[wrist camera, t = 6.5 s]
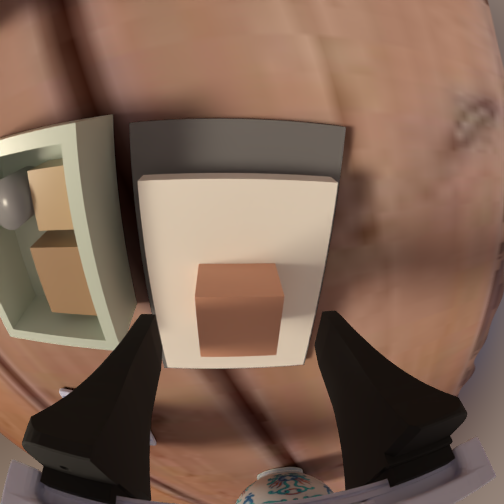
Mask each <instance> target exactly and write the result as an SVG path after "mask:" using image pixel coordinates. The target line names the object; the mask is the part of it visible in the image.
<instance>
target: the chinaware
mask: <svg viewBox="0 0 504 504" xmlns="http://www.w3.org/2000/svg"><path fill="white" fill-rule="evenodd" d="M332 493H334V492H333V491H332V490H331V489H330V488H329V487H328V486H327V485H326V484H325V483H323V482H322V481H320V480H319V479H317V478H315V477H313V476H310V475H307V474H303V470H302V469H301V468H298V467H282V468H276V469H271V470H267V471H264V472H262V473H260V474H258V476H257V481H255V482H254V483H252V484H251V485H250V486H249V487H247V488H246V489H245V490H244V491H243V493H242V494H241V495H240V497H239V498H238V500H237V502H236V504H263V503H274V502H283V501H291V500H298V499H305V498H311V497H316V496H322V495H327V494H332Z"/></svg>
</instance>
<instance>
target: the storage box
mask: <svg viewBox="0 0 504 504" xmlns="http://www.w3.org/2000/svg"><path fill="white" fill-rule="evenodd" d="M136 305H137V301H136V297H135V292H134V287H133V283H132V278H131V272H130V267H129V262H128V256H127V250H126V244H125V238H124V232H123V225H122V218H121V210H120V202H119V194H118V185H117V174H116V162H115V149H114V130H113V114H112V115H105V116H98V117H91V118H85V119H79V120H74V121H68V122H63V123H58V124H53V125H49V126H44V127H40V128H35V129H31V130H27V131H23V132H20V133H16V134H12V135H9V136H5V137H2V138H0V317H1V319H2V321H3V323H4V325H5V327H6V329H7V331H8V333H9V335H10V336H11V337H16V338H21V339H27V340H33V341H39V342H45V343H52V344H59V345H67V346H75V347H83V348H93V349H103V350H114V349H115V348H116V347H117V345H118V344H119V343H120V342H121V340H122V339H123V338H124V337H125V335H126V334H127V332H128V329H129V326H130V323H131V320H132V317H133V314H134V311H135V308H136Z"/></svg>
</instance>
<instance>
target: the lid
mask: <svg viewBox="0 0 504 504" xmlns="http://www.w3.org/2000/svg"><path fill="white" fill-rule="evenodd" d="M137 182H138V194H139V204H140V214H141V223H142V231H143V239H144V247H145V254H146V260H147V267H148V273H149V279H150V285H151V291H152V297H153V302H154V307H155V313H156V318H157V323H158V327H159V332H160V337H161V341H162V346H163V350H164V355H165V359H166V363H167V367H168V368H255V367H275V366H290V365H302V364H303V363H304V359H305V355H306V351H307V346H308V342H309V338H310V334H311V329H312V325H313V320H314V316H315V311H316V307H317V302H318V297H319V292H320V287H321V282H322V277H323V272H324V267H325V261H326V256H327V250H328V244H329V239H330V233H331V227H332V220H333V214H334V207H335V201H336V194H337V186H338V182H336V181H335V180H334V179H333V178H331V177H327V176H311V175H292V174H264V173H180V174H152V175H143V176H142V177H141V178H140V179H139V180H138V181H137Z"/></svg>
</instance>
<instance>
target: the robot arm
mask: <svg viewBox="0 0 504 504" xmlns="http://www.w3.org/2000/svg"><path fill="white" fill-rule="evenodd" d="M315 350H316V356H317V360H318V365H319V368H320V371H321V374H322V377H323V380H324V383H325V385H326V388H327V391H328V394H329V397H330V400H331V403H332V406H333V409H334V413H335V417H336V422H337V427H338V432H339V437H340V443H341V450H342V457H343V465H344V476H345V491H341V492H336V493H332V494H327V495H322V496H316V497H311V498H305V499H298V500H291V501H283V502H274V503H263V504H455V503H457V502H458V501H460V500H462V499H463V498H465V497H467V496H468V495H470V494H472V493H473V492H475V491H476V490H478V489H479V488H481V487H482V486H484V485H485V484H487V483H488V482H490V481H491V480H493V479H494V478H495V477H496V475H495V472H494V470H493V468H492V466H491V464H490V461H489V459H488V457H487V455H486V453H485V451H484V449H483V447H482V445H481V443H480V440H479V438H478V437H477V436H476V437H473V438H472V439H470V440H468V441H466V442H464V443H462V444H460V445H458V446H457V447H455V448H454V449H453V450H452V449H451V447H450V444H451V443H452V439H451V437H450V435H451V434H452V433H453V432H454V431H455V430H456V429H457V428H458V427H459V426H460V425H461V424H462V423H463V422H464V420H465V419H466V417H467V412H466V410H465V408H464V406H463V404H462V403H461V401H460V399H459V398H458V397H456V396H453V395H450V394H448V393H445V392H442V391H440V390H438V389H435V388H433V387H431V386H429V385H427V384H425V383H423V382H421V381H419V380H418V379H416V378H414V377H413V376H411V375H409V374H408V373H406V372H404V371H403V370H401V369H400V368H399V367H397V366H396V365H394V364H393V363H392V362H390V361H389V360H388V359H386V358H385V357H384V356H383V355H382V354H380V353H379V352H378V351H377V350H376V349H374V348H373V347H372V346H371V345H370V344H369V343H368V342H367V341H366V340H365V339H364V338H363V337H362V336H360V335H359V334H358V333H357V332H356V331H355V330H354V329H353V328H352V327H351V326H350V325H349V323H348V322H347V321H346V320H345V319H344V318H343V317H342V316H341V315H340V314H339V313H338V312H337V311H324V312H322V316H321V320H320V325H319V329H318V333H317V337H316V341H315ZM162 351H163V347H162V343H161V338H160V334H159V329H158V324H157V320H156V315H155V314H141V315H140V316H139V318H138V319H137V320H136V322H135V323H134V324H133V326H132V327H131V329H130V330H129V331H128V333H127V334H126V335H125V337H124V338H123V339H122V340H121V342H120V343H119V344H118V345H117V347H116V348H115V349H114V350H113V352H112V353H111V354H110V355H109V356H108V357H107V359H106V360H105V361H104V362H103V363H102V364H101V365H100V366H99V367H98V368H97V369H96V370H95V371H94V372H93V373H92V374H91V375H90V376H89V377H88V378H87V379H86V380H85V381H84V382H83V383H81V384H80V385H79V386H78V387H77V388H75V389H74V390H69V389H64V388H61V389H60V391H59V393H60V395H61V396H62V399H61V400H59V401H58V402H56V403H55V404H53V405H52V406H50V407H48V408H46V409H45V410H43V411H41V412H39V413H37V414H35V415H33V416H31V418H30V421H29V423H28V426H27V429H26V432H25V435H24V438H23V441H22V446H23V447H24V449H25V450H26V451H27V452H28V453H29V454H30V455H31V456H32V457H33V458H35V459H36V460H37V461H38V462H39V463H41V464H42V465H43V466H44V467H43V471H42V472H41V471H39V470H37V469H35V468H33V467H31V466H28V465H26V464H24V463H21V462H19V461H16V460H14V459H12V460H11V463H10V467H9V470H8V474H7V478H6V482H5V486H4V491H3V495H2V500H1V504H174V503H163V502H154V501H150V500H151V491H150V459H149V456H150V445H156V440H155V438H154V436H153V434H152V432H151V430H150V429H151V418H152V411H153V406H154V401H155V396H156V391H157V386H158V381H159V376H160V371H161V363H162Z"/></svg>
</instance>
